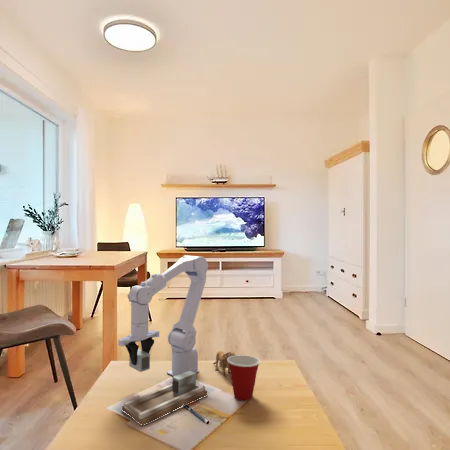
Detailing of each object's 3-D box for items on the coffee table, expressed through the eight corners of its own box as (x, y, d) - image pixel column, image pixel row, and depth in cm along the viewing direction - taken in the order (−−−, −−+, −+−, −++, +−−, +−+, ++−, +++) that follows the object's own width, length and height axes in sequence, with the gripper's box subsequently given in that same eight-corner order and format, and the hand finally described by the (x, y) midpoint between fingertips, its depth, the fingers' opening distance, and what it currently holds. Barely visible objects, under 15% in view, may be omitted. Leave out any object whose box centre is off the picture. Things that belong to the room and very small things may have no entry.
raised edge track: (185, 384, 116) (185, 365, 117) (207, 395, 109) (207, 375, 109) (122, 411, 99) (122, 389, 99) (142, 426, 92) (142, 402, 92)
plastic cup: (264, 392, 111) (265, 355, 111) (253, 407, 101) (253, 367, 102) (234, 386, 116) (234, 350, 116) (221, 400, 106) (221, 361, 106)
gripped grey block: (138, 363, 117) (138, 348, 117) (150, 369, 112) (150, 354, 112) (129, 366, 114) (129, 351, 114) (141, 372, 109) (141, 356, 109)
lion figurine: (240, 376, 123) (240, 352, 123) (228, 380, 120) (228, 355, 120) (218, 363, 135) (218, 341, 135) (207, 366, 132) (207, 343, 132)
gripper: (151, 315, 121) (151, 353, 121) (113, 323, 111) (113, 365, 111) (163, 319, 117) (162, 359, 116) (124, 328, 106) (124, 371, 106)
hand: (139, 362), depth 113 cm, fingers closed on gripped grey block, 3 cm apart
